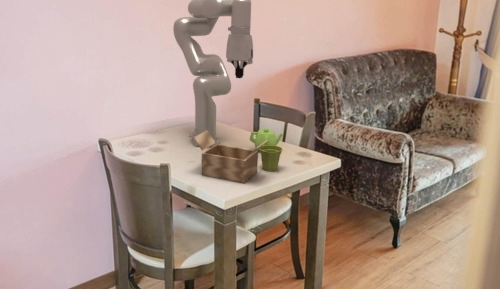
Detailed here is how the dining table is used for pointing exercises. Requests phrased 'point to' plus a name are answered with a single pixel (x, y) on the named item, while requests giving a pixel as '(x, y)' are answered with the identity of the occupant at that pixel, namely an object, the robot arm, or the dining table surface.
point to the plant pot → (270, 157)
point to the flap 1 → (204, 140)
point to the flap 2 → (257, 148)
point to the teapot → (265, 137)
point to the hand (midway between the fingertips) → (239, 77)
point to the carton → (229, 163)
